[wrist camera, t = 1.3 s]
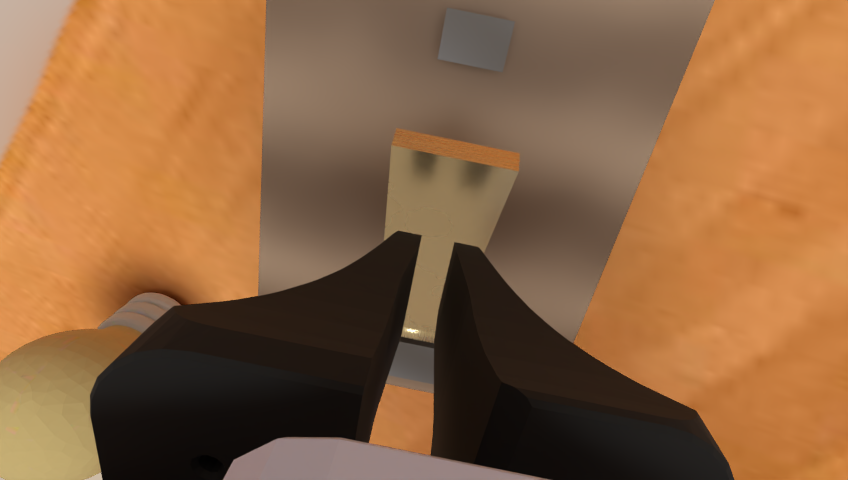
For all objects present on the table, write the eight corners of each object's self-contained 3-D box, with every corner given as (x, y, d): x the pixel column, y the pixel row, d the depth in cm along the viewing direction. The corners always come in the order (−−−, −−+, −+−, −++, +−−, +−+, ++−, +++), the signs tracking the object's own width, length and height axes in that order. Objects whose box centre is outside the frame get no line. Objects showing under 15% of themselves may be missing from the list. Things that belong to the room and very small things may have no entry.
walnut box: (531, 360, 25) (549, 447, 20) (286, 310, 25) (239, 384, 20) (664, 2, 17) (751, -11, 12) (310, -71, 17) (242, -116, 12)
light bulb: (170, 248, 24) (-9, 380, 15) (242, 337, 26) (124, 499, 17) (88, 291, 26) (-118, 433, 16) (161, 371, 28) (15, 536, 19)
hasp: (447, 327, 20) (444, 349, 19) (380, 314, 20) (375, 335, 19) (520, 147, 11) (518, 177, 10) (398, 122, 11) (389, 151, 10)
